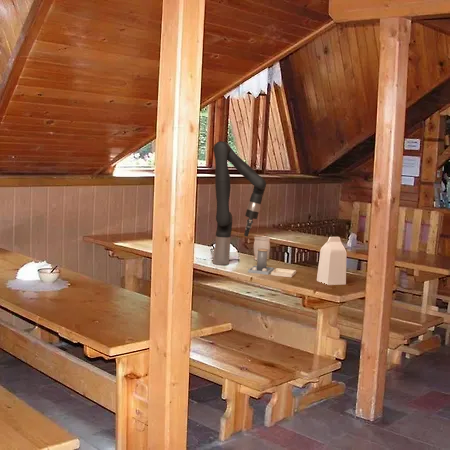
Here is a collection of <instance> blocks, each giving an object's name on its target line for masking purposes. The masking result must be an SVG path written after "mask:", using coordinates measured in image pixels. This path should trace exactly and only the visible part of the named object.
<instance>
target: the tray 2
mask: <svg viewBox="0 0 450 450" xmlns="http://www.w3.org/2000/svg"><path fill="white" fill-rule="evenodd" d="M296 274H297V270H296V269H291V268H289V269H287V268H279V267H278V268H277V267H276V268H274V270H273V271H272V272H271V273H270V276H276V277H285V278H286V277H287V278H292V277H293V276H294V275H296Z"/></svg>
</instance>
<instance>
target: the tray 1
mask: <svg viewBox="0 0 450 450" xmlns="http://www.w3.org/2000/svg"><path fill="white" fill-rule="evenodd" d="M253 267H256V268H257V265H253V266H252V267H250V268H248V273H250V274H259V275H267V276H268V275H271V272H272V271H273V270H275V268H274V267H271V266H270V267H269V266H266V269H267V272H266V271H257V270H252V268H253Z"/></svg>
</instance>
